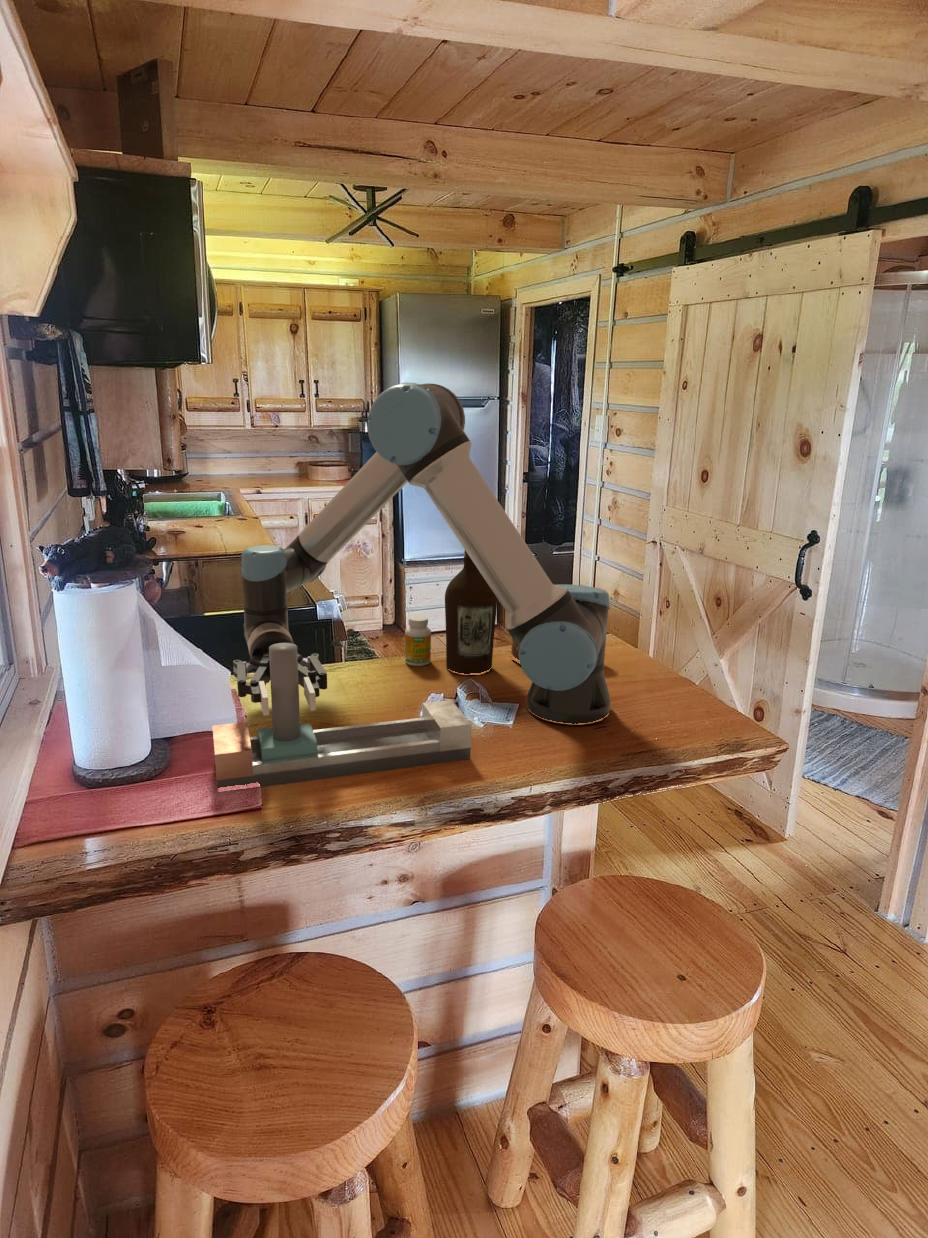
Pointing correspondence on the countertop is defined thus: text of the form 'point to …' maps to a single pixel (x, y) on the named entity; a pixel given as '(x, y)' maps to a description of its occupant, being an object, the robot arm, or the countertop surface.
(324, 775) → the rail track
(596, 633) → the robot arm
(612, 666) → the countertop surface
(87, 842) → the countertop surface
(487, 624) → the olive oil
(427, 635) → the supplement bottle
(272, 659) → the carriage
